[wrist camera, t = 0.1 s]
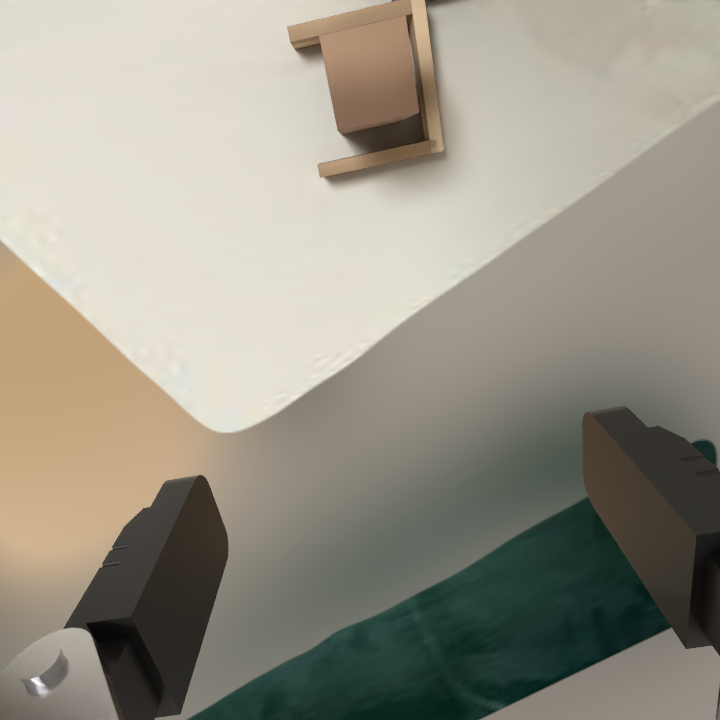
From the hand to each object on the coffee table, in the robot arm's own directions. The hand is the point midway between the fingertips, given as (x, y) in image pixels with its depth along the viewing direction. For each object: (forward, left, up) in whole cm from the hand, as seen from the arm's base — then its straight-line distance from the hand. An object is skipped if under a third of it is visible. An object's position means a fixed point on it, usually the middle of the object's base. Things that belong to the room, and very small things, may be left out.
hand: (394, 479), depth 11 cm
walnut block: (-9, +2, -29) cm, 31 cm away
